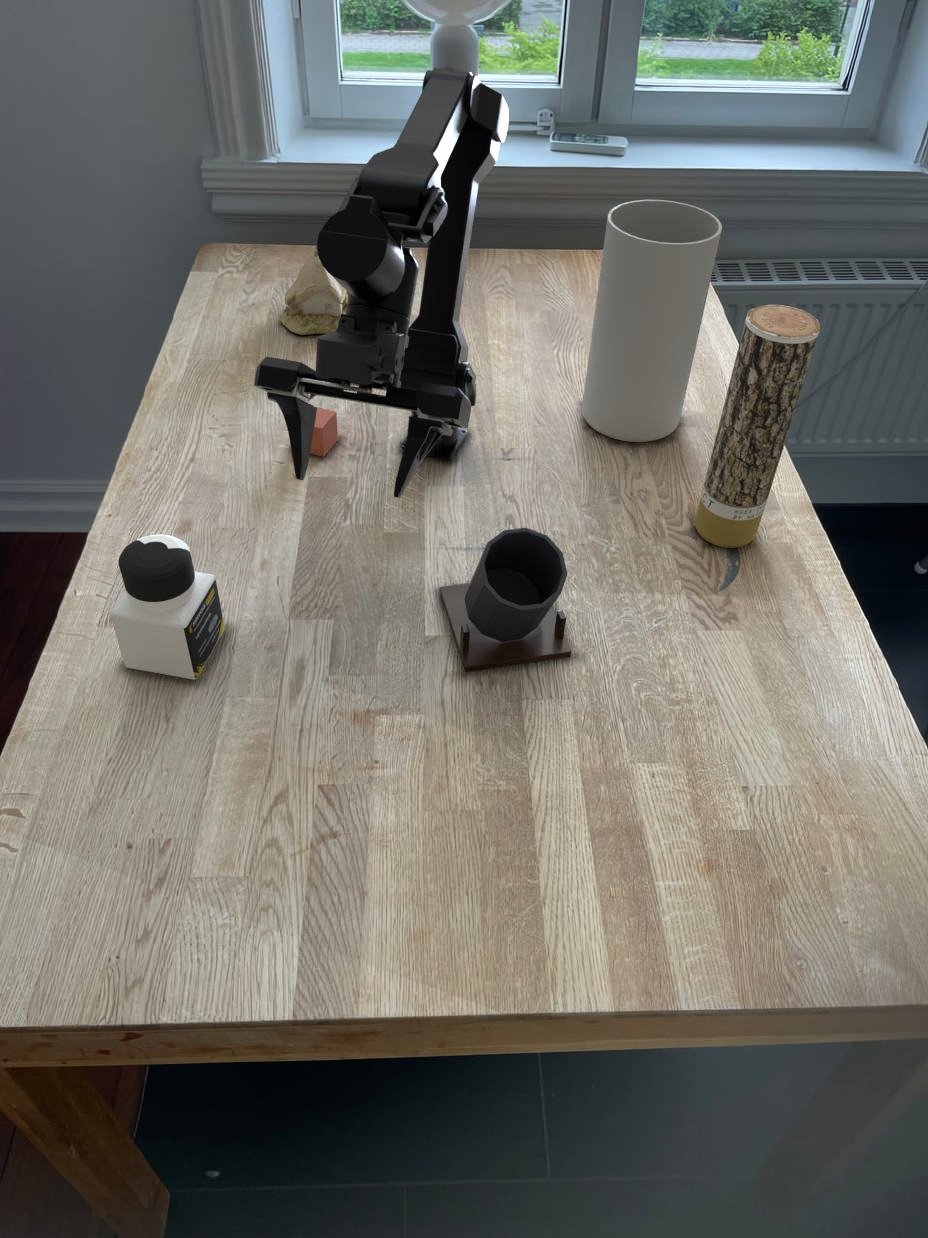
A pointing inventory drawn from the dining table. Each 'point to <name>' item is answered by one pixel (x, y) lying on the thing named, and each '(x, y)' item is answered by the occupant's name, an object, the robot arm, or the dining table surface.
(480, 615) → the bin
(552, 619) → the brown pegged stand
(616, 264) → the cylinder vase
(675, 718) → the dining table surface
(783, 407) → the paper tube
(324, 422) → the block
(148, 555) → the medicine bottle
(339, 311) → the ceramic model
